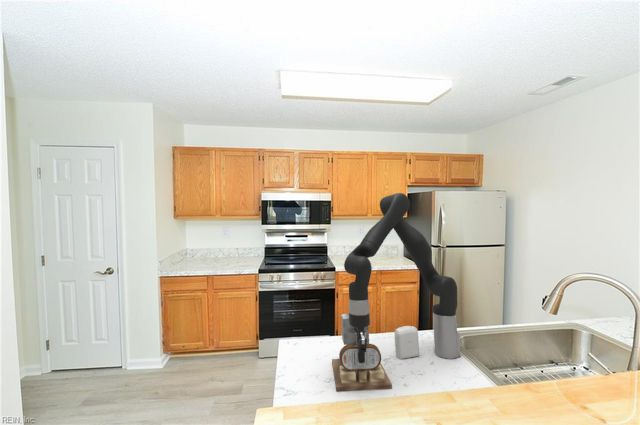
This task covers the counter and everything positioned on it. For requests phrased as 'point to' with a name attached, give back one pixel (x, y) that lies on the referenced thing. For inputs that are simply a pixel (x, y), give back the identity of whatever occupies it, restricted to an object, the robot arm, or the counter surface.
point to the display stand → (357, 378)
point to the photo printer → (406, 342)
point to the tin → (350, 357)
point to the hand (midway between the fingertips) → (360, 360)
